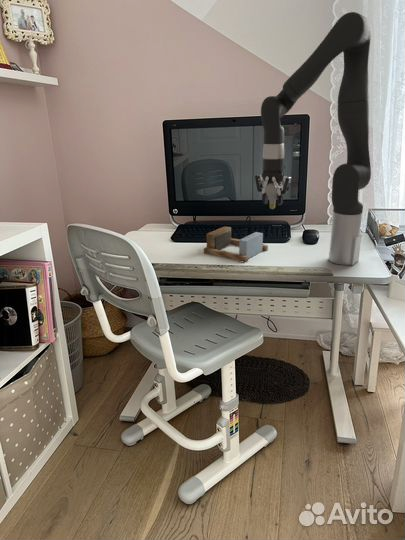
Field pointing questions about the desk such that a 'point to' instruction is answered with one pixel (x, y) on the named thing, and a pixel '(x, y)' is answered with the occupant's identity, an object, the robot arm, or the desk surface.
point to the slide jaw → (251, 244)
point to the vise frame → (224, 244)
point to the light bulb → (271, 194)
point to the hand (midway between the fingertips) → (272, 204)
